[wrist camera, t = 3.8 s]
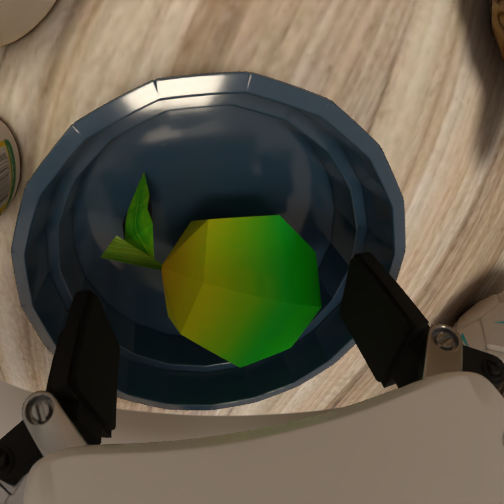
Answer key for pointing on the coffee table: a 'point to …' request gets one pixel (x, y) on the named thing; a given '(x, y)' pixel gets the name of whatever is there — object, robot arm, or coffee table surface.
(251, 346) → the apple
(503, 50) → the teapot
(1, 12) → the drinking glass
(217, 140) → the bowl
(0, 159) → the supplement bottle
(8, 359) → the coffee table surface
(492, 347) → the puzzle ball
